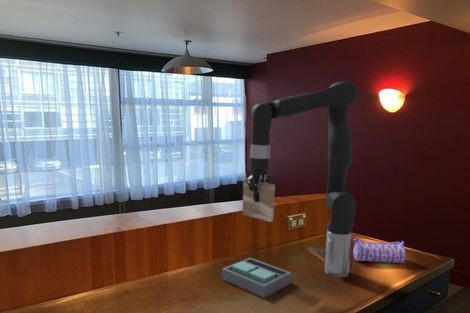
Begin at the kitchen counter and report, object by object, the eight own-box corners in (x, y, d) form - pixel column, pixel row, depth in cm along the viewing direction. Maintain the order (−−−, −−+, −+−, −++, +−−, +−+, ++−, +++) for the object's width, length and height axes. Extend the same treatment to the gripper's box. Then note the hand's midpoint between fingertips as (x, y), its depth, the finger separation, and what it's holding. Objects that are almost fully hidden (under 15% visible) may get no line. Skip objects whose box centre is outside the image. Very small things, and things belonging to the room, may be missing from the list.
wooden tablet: (302, 244, 180) (321, 240, 183) (302, 248, 180) (321, 245, 183) (331, 266, 155) (352, 261, 157) (331, 271, 155) (352, 266, 158)
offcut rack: (249, 269, 151) (250, 257, 150) (291, 286, 137) (291, 272, 137) (221, 282, 139) (221, 268, 139) (263, 301, 126) (264, 286, 125)
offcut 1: (242, 273, 144) (242, 261, 144) (256, 279, 139) (256, 266, 139) (231, 278, 140) (231, 265, 139) (245, 284, 135) (245, 271, 134)
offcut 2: (259, 281, 138) (259, 267, 138) (274, 287, 134) (275, 273, 133) (248, 286, 134) (249, 272, 133) (264, 292, 129) (264, 278, 129)
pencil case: (399, 258, 169) (400, 237, 168) (408, 266, 159) (410, 244, 158) (350, 256, 168) (351, 236, 167) (356, 265, 159) (358, 243, 158)
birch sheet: (245, 214, 150) (246, 179, 149) (273, 221, 141) (274, 184, 139) (242, 214, 149) (243, 179, 147) (270, 222, 139) (272, 185, 138)
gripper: (255, 158, 135) (254, 206, 137) (278, 156, 145) (276, 200, 147) (240, 156, 140) (239, 202, 142) (263, 154, 150) (261, 197, 152)
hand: (258, 201), depth 144 cm, fingers closed on birch sheet, 1 cm apart
